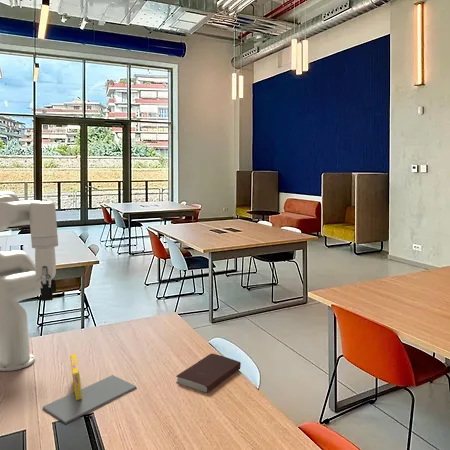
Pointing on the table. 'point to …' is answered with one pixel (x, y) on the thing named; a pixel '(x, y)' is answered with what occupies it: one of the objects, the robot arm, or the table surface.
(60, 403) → the mat
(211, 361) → the book
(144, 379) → the table surface
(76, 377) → the candy box
